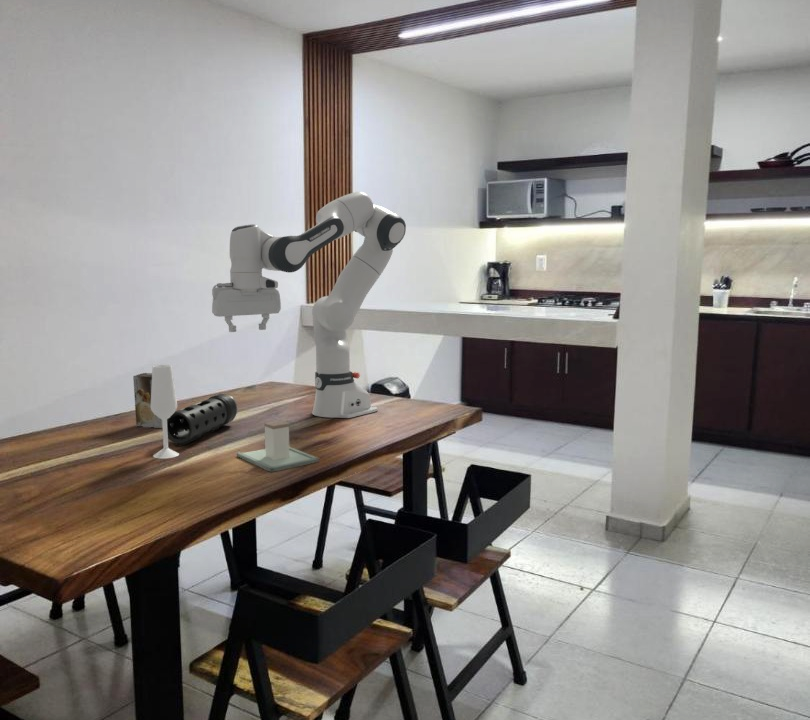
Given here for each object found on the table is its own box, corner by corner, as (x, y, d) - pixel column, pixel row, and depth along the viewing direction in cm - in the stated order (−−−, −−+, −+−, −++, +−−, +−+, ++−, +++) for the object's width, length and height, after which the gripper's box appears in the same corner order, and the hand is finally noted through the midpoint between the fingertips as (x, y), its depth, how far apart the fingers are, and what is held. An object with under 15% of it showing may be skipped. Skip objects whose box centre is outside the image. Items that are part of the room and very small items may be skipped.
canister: (280, 453, 193) (280, 420, 191) (289, 457, 189) (289, 423, 188) (265, 456, 190) (264, 422, 188) (274, 460, 186) (273, 426, 185)
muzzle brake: (162, 446, 202) (161, 410, 201) (213, 423, 229) (212, 391, 227) (193, 448, 200) (192, 412, 198) (240, 425, 227) (239, 393, 225)
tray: (283, 447, 201) (283, 444, 201) (318, 461, 187) (318, 458, 187) (236, 456, 192) (236, 452, 192) (270, 472, 178) (270, 468, 178)
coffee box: (172, 424, 228) (170, 373, 226) (161, 428, 222) (159, 377, 219) (146, 422, 230) (144, 372, 228) (134, 426, 224) (132, 375, 222)
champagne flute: (178, 450, 197) (174, 363, 194) (180, 457, 191) (176, 367, 187) (152, 452, 195) (148, 364, 191) (153, 459, 189) (148, 368, 185)
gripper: (217, 283, 197) (218, 334, 199) (282, 282, 210) (283, 329, 212) (207, 282, 202) (208, 332, 204) (272, 281, 215) (273, 327, 217)
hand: (247, 330), depth 208 cm, fingers open, 8 cm apart
